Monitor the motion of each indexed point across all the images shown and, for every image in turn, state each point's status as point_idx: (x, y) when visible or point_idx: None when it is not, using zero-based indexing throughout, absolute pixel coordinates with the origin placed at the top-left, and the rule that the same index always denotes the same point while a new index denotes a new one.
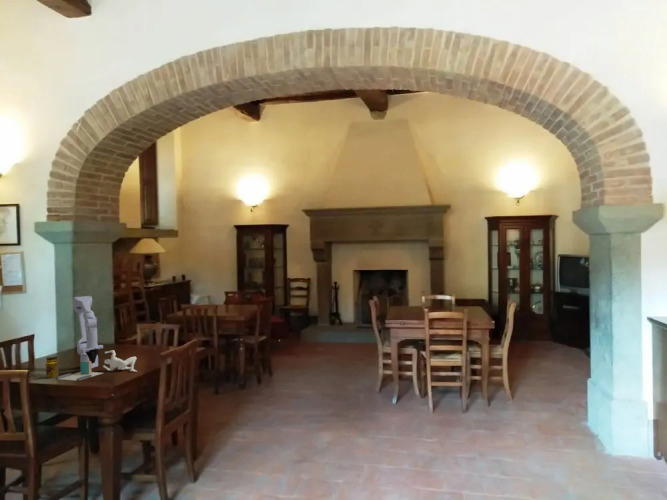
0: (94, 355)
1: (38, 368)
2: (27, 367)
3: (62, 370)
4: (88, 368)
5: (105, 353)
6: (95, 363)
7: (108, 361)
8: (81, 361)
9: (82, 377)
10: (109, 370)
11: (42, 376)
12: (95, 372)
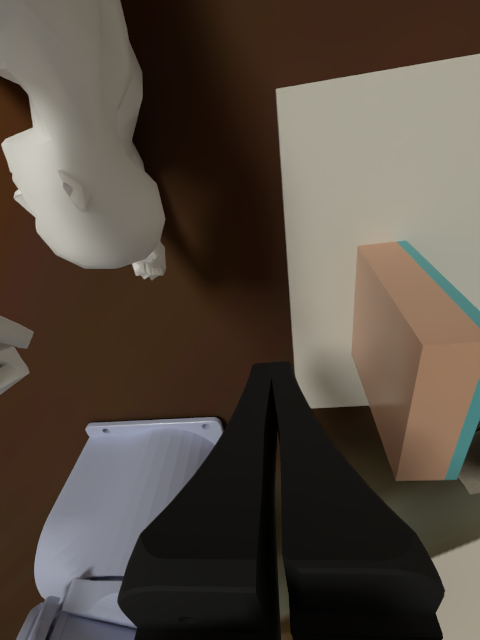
0: (289, 464)
1: (281, 611)
2: (281, 635)
3: (277, 533)
4: (439, 280)
5: (21, 328)
6: (106, 463)
7: (102, 136)
8: (460, 465)
9: None
10: (132, 158)
11: (452, 526)
12: (294, 248)
